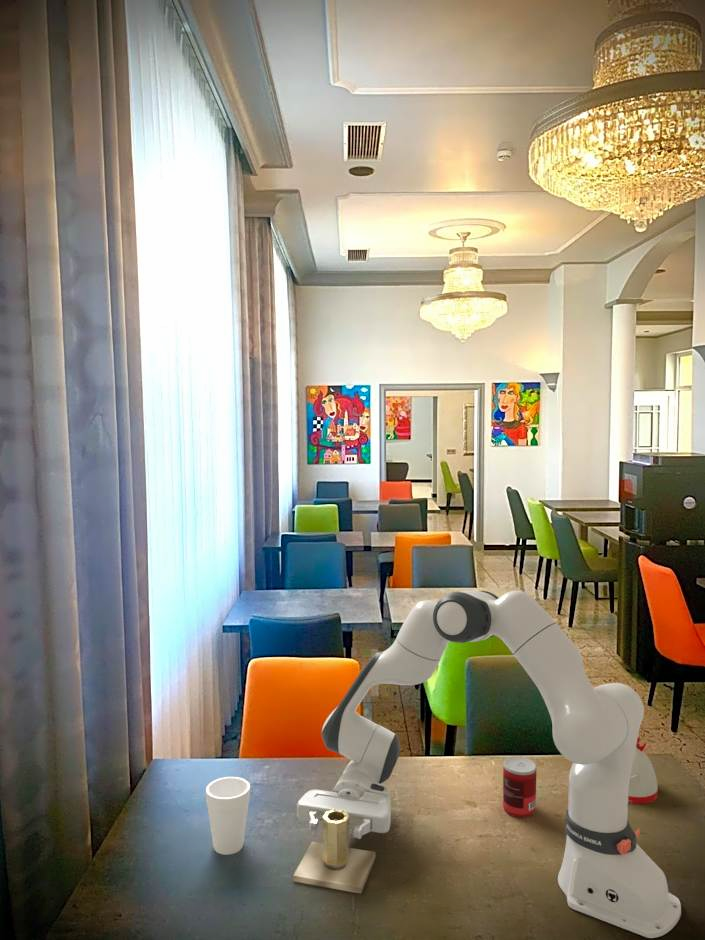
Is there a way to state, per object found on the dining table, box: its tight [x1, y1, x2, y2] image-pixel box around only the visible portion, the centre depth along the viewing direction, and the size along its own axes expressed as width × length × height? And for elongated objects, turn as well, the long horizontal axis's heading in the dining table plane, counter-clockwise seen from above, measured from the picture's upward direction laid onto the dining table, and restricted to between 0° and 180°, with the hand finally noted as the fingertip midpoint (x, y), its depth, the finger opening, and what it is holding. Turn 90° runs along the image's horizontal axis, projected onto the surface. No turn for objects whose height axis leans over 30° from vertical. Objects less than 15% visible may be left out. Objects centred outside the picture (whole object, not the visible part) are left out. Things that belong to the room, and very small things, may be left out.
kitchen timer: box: [628, 736, 659, 804], centre depth 177 cm, size 14×14×15 cm
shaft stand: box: [292, 819, 376, 895], centre depth 144 cm, size 14×12×10 cm
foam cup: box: [205, 776, 251, 856], centre depth 152 cm, size 10×9×13 cm
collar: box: [322, 809, 350, 867], centre depth 144 cm, size 5×5×9 cm
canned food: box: [502, 756, 537, 819], centre depth 167 cm, size 8×8×11 cm
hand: (334, 831), depth 143 cm, fingers open, 8 cm apart
